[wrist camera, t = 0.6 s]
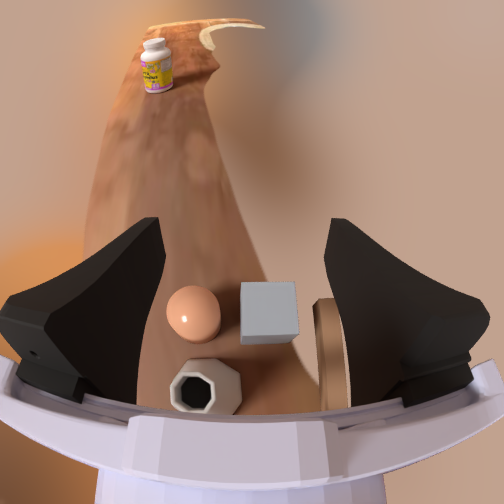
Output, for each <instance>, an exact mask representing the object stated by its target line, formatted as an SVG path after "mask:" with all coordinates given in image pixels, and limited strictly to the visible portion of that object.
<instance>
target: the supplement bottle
mask: <svg viewBox="0 0 504 504" xmlns="http://www.w3.org/2000/svg"><path fill="white" fill-rule="evenodd" d="M143 45H144V49H145V52H143V53H142V55H141V63H142V70H143V76H144V83H145V88H146V91H147V92H149V93H161V92H164V91H166V90H168V89H170V88H171V87H172V86H173V75H172V64H171V53H170V50H169V49H168V48H166V47H165V46H164V45H165V39H164V38H155V39H151V40H148V41H146V42H144V43H143Z"/></svg>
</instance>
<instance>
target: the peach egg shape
mask: <svg viewBox="0 0 504 504" xmlns="http://www.w3.org/2000/svg"><path fill="white" fill-rule="evenodd" d="M167 318H168V321H169V323H170V325H171V326H172V328H173V329H174V330H175V331H176V332H177V333H178V334H179V335H180V336H181V337H182V338H183V339H184V340H186V341H187V342H190V343H193V344H203V343H207V342H209V341H211V340H212V339H213V338H214V337H215V336H216V335H217V334H218V332H219V330H220V328H221V314H220V308H219V303H218V301H217V299H216V297H215V296H214V295H213V293H211V292H210V291H209V290H207V289H206V288H203V287H200V286H187V287H184V288H181V289H180V290H178V291H177V292H175V293H174V294H173V296H172V297H171V298H170V300H169V302H168V306H167Z"/></svg>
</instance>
